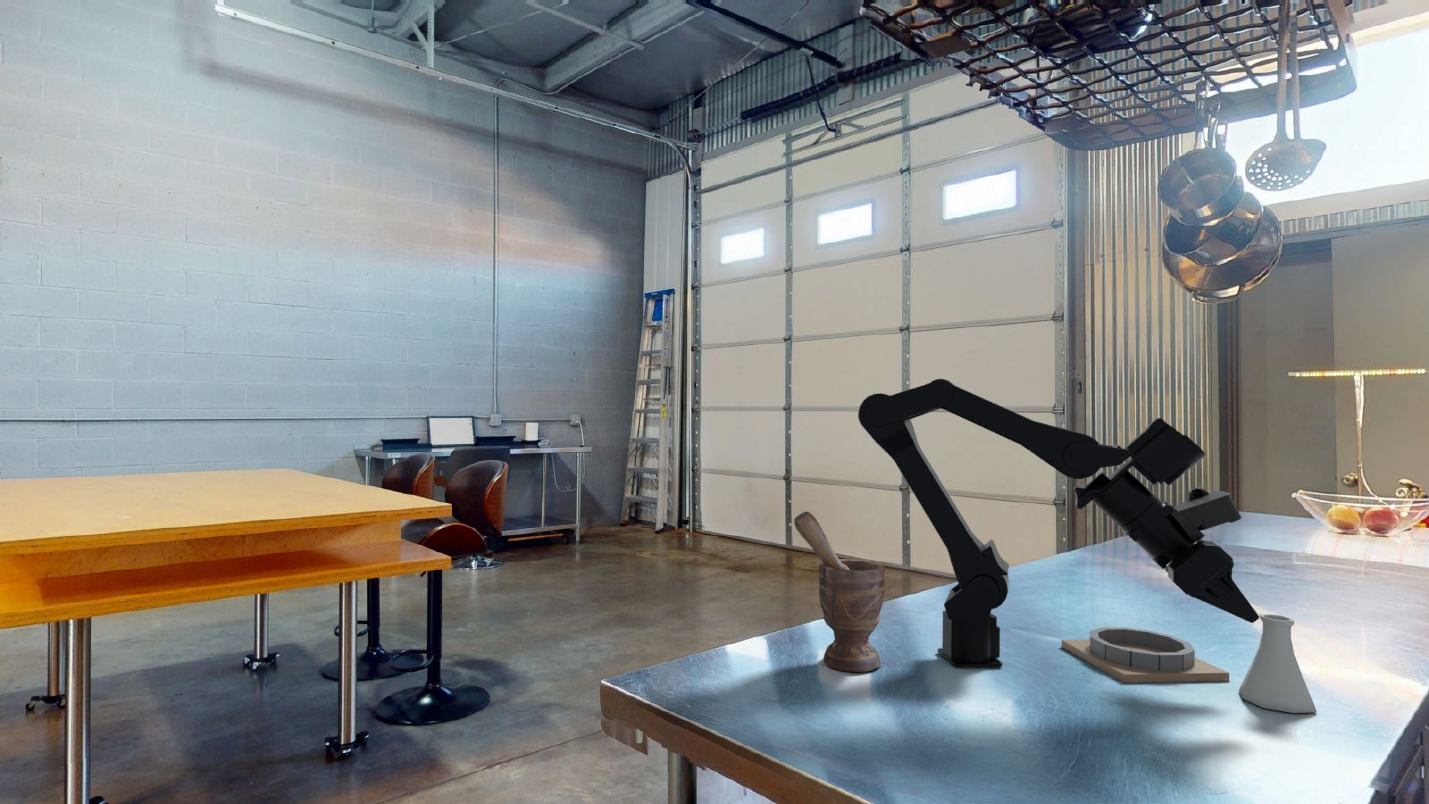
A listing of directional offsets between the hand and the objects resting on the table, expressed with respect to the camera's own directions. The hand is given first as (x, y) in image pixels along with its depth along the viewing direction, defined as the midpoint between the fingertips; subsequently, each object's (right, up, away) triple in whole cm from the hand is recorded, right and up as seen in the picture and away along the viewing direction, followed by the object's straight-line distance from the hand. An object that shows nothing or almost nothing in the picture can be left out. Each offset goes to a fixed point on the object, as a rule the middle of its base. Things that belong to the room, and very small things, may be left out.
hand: (1244, 610), depth 87 cm
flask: (+3, -11, -1) cm, 11 cm away
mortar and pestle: (-46, -10, +9) cm, 48 cm away
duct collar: (-5, -10, +12) cm, 17 cm away
